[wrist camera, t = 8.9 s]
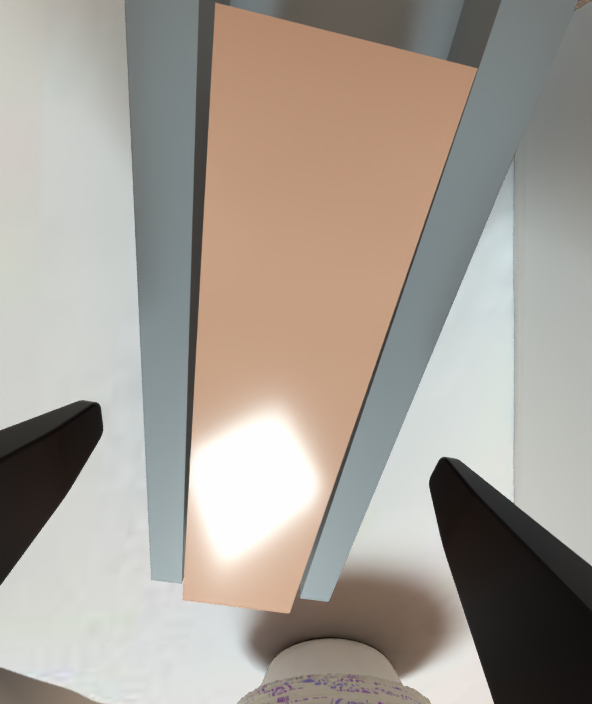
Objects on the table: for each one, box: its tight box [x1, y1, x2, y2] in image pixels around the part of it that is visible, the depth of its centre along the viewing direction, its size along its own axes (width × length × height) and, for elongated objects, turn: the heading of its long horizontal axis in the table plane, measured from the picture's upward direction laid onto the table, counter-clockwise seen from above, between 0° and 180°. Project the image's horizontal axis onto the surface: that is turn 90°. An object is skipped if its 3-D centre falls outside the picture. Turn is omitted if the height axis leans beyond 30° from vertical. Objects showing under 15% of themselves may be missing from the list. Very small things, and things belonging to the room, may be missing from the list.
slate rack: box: [125, 0, 579, 602], centre depth 12 cm, size 11×24×4 cm, turn 170°
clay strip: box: [183, 3, 478, 614], centre depth 10 cm, size 4×16×5 cm, turn 169°
